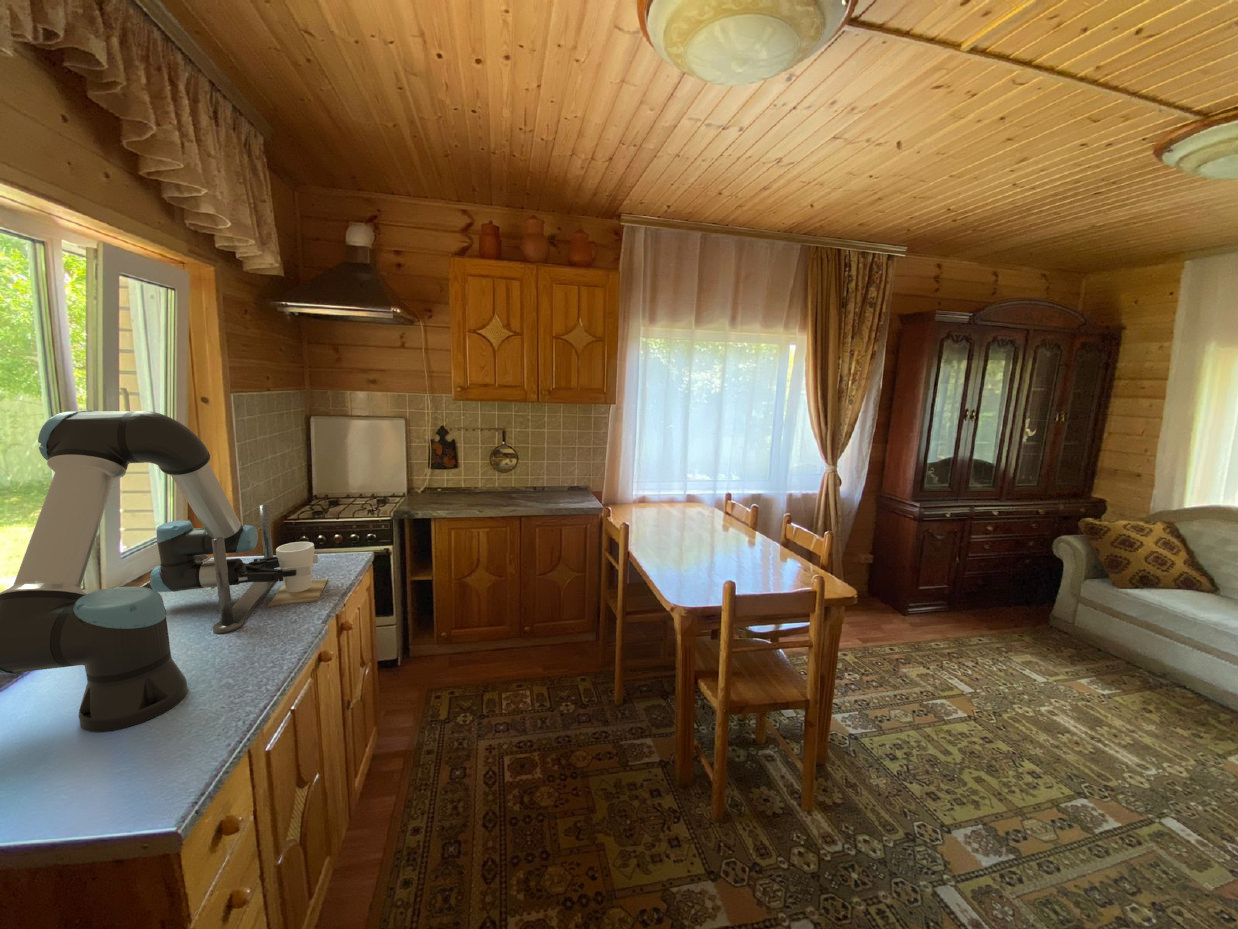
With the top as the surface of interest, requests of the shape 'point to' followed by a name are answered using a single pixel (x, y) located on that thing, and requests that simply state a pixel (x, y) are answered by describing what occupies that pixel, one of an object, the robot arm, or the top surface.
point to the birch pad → (299, 594)
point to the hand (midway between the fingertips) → (313, 564)
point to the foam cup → (296, 563)
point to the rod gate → (243, 607)
